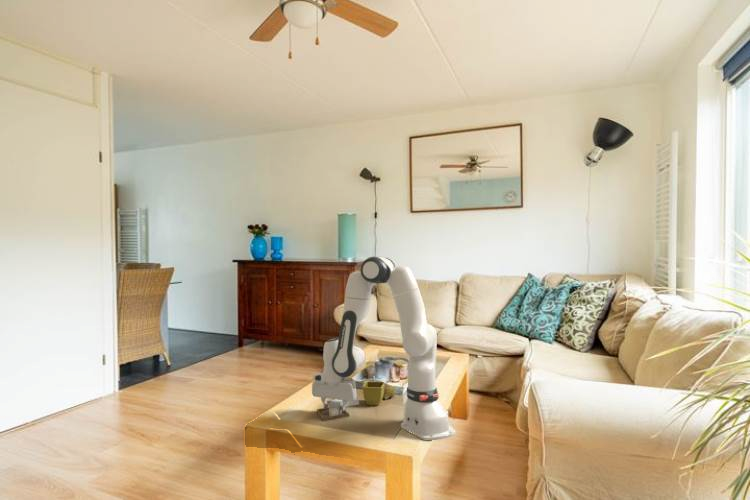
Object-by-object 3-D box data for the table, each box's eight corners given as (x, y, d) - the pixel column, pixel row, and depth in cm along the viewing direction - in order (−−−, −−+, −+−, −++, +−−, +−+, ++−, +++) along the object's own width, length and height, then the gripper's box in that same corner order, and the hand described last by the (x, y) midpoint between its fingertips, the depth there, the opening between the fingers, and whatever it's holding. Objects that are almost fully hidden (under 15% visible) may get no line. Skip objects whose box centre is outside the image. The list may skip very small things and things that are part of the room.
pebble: (342, 411, 173) (342, 400, 174) (339, 414, 169) (338, 404, 169) (332, 410, 174) (332, 399, 175) (329, 414, 170) (328, 403, 170)
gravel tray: (349, 417, 167) (349, 413, 167) (323, 421, 163) (323, 418, 163) (341, 408, 177) (341, 405, 178) (317, 412, 173) (317, 409, 173)
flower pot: (381, 408, 178) (381, 387, 178) (362, 407, 179) (362, 386, 180) (385, 401, 186) (385, 381, 187) (367, 400, 188) (366, 381, 188)
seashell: (385, 409, 187) (395, 398, 185) (373, 399, 188) (382, 388, 186) (389, 398, 196) (398, 387, 194) (378, 389, 197) (387, 378, 195)
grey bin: (359, 405, 181) (358, 398, 181) (337, 409, 177) (337, 402, 177) (351, 398, 190) (351, 392, 190) (331, 402, 187) (331, 395, 187)
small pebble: (338, 417, 167) (338, 409, 167) (331, 418, 165) (331, 411, 165) (335, 414, 169) (335, 407, 169) (329, 416, 168) (329, 408, 168)
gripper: (358, 376, 171) (359, 409, 171) (317, 372, 179) (317, 403, 179) (352, 380, 165) (352, 414, 165) (309, 375, 173) (310, 408, 173)
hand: (334, 408), depth 172 cm, fingers open, 7 cm apart
